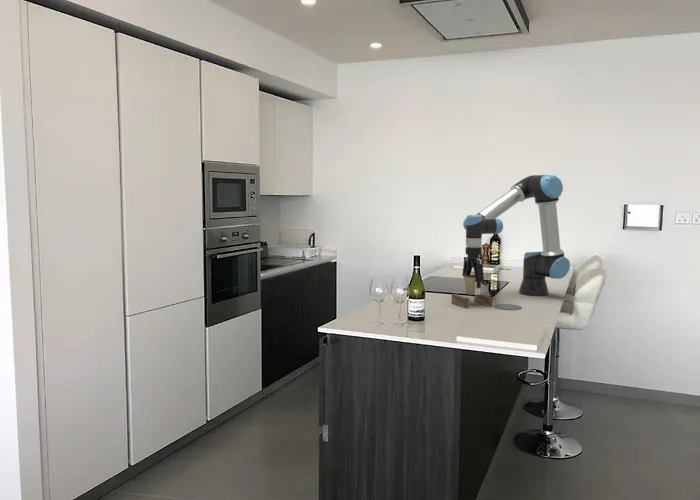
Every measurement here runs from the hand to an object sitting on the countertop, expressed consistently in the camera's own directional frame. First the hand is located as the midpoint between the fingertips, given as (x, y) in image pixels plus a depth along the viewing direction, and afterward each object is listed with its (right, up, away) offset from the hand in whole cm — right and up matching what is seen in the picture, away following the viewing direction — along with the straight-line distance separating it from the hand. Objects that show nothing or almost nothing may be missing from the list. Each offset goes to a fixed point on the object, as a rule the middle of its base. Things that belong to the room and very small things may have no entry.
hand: (472, 292), depth 289 cm
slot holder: (0, -6, +1) cm, 6 cm away
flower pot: (0, -1, 0) cm, 1 cm away
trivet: (+16, -7, -5) cm, 18 cm away
